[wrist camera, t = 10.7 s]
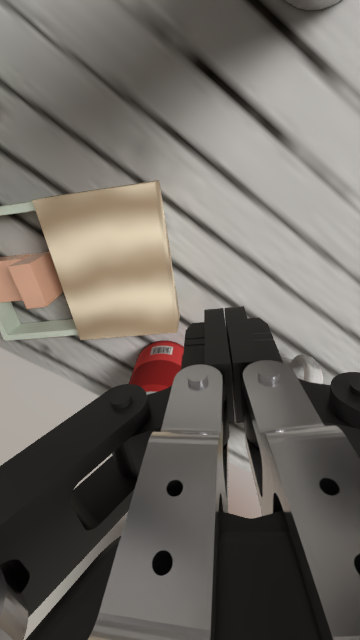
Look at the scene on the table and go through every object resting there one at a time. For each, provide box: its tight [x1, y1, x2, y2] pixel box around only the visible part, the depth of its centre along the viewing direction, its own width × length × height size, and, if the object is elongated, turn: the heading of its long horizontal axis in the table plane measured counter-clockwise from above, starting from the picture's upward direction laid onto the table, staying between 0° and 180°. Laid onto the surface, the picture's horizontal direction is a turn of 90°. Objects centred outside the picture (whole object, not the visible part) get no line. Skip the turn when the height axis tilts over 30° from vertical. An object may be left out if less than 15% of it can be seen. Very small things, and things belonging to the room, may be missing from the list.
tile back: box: [0, 254, 30, 303], centre depth 35 cm, size 5×5×2 cm
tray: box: [0, 201, 79, 341], centre depth 34 cm, size 16×11×3 cm
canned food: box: [129, 341, 184, 395], centre depth 36 cm, size 8×8×11 cm
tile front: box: [8, 251, 64, 309], centre depth 34 cm, size 5×5×2 cm
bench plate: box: [32, 180, 180, 340], centre depth 33 cm, size 16×12×4 cm
